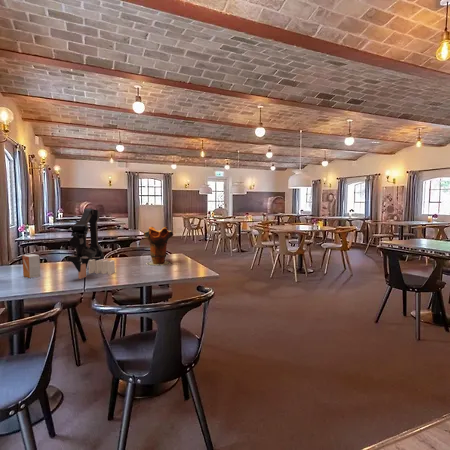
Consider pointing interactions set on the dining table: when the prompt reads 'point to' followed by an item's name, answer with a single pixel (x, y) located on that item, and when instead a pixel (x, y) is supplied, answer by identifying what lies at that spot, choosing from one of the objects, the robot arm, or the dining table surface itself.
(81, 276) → the domino
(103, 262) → the domino
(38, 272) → the small box
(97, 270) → the domino
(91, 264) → the domino
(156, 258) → the decorative vase
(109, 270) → the domino
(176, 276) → the dining table surface
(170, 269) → the dining table surface
